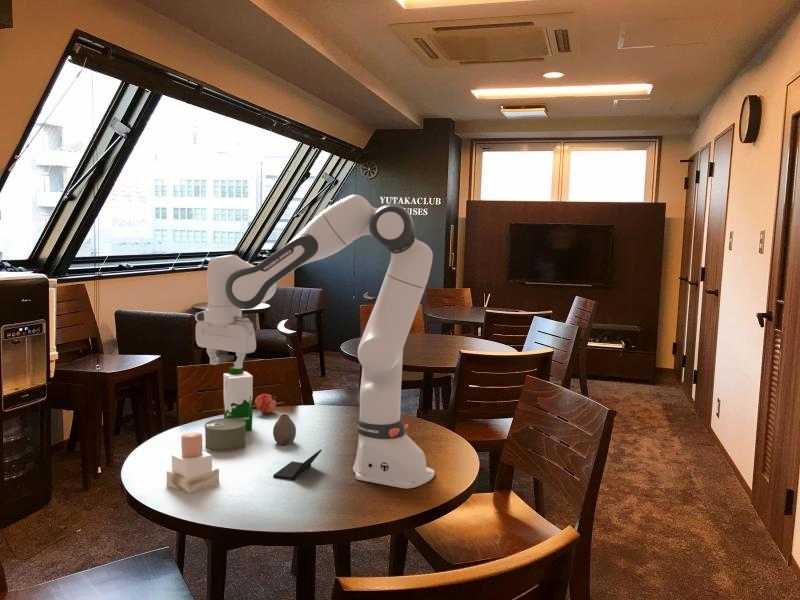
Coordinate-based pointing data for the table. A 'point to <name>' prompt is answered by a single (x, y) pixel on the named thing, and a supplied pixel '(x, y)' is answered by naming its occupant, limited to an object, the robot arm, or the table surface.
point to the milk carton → (238, 396)
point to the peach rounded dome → (191, 445)
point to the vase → (284, 430)
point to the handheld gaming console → (295, 469)
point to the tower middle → (191, 464)
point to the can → (225, 434)
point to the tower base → (192, 480)
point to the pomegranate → (265, 403)
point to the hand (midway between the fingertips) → (226, 366)
